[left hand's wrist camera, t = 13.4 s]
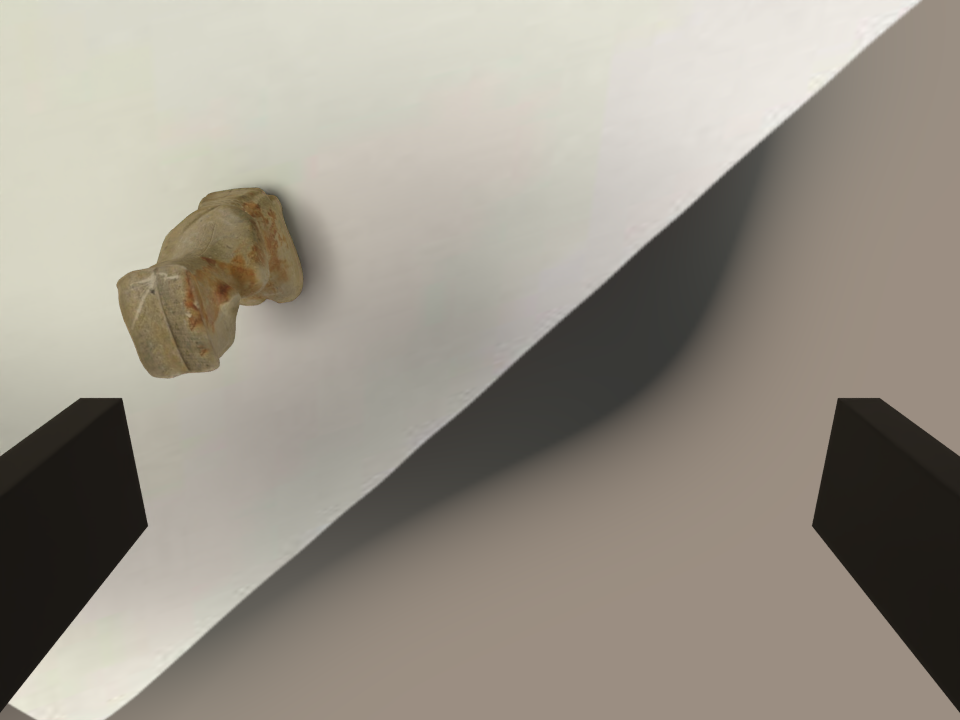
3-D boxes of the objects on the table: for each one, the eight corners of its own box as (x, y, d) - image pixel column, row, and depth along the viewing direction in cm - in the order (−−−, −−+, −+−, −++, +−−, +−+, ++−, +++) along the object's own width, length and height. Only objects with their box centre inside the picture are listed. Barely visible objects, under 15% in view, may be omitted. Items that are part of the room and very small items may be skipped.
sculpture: (230, 301, 44) (111, 394, 30) (205, 187, 41) (62, 229, 27) (319, 294, 43) (243, 384, 29) (300, 179, 41) (206, 217, 27)
